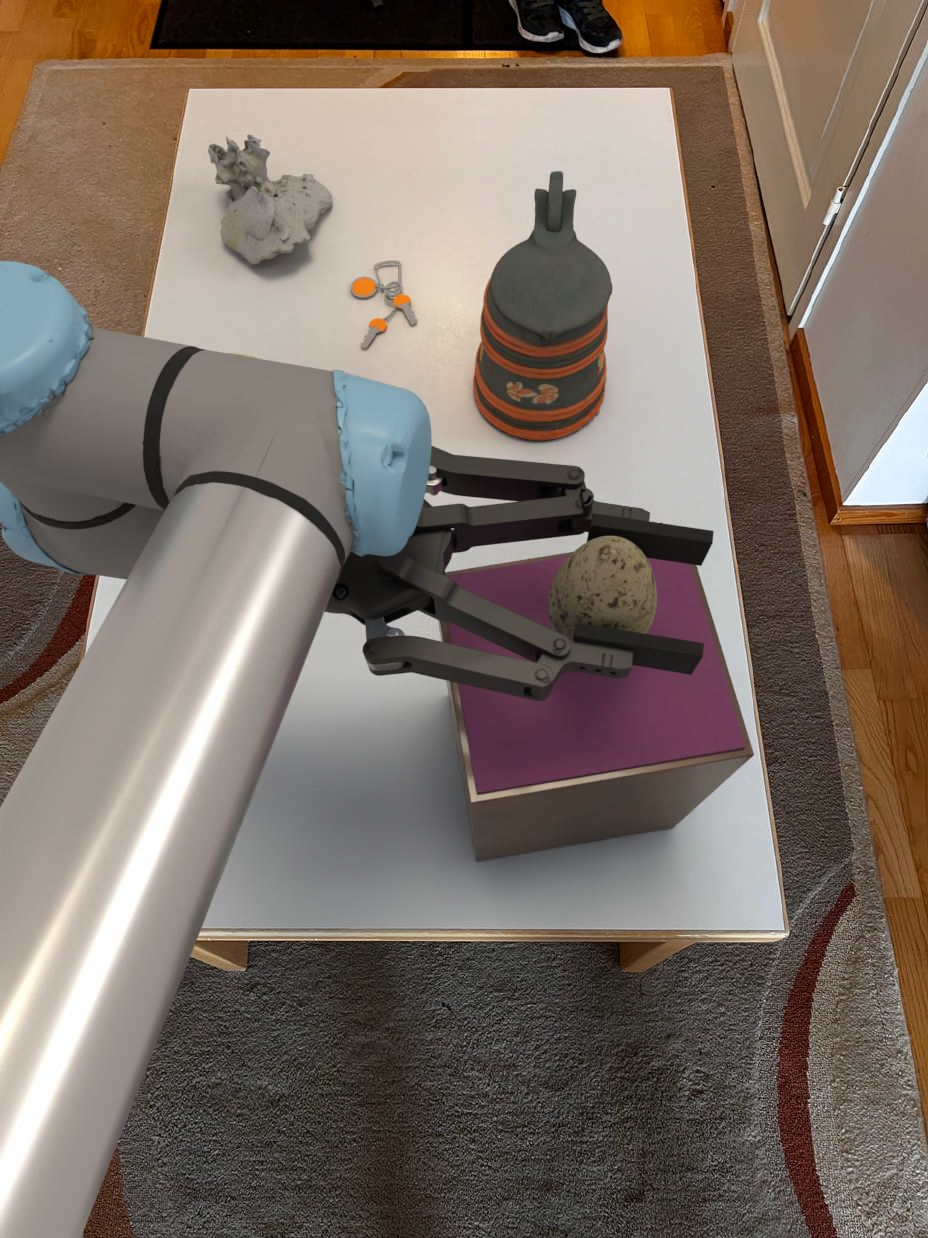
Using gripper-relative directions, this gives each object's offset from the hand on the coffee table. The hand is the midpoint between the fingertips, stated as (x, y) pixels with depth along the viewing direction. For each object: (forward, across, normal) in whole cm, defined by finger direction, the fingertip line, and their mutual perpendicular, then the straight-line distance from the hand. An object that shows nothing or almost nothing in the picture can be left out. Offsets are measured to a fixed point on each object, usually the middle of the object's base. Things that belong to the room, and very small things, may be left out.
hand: (701, 602), depth 46 cm
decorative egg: (-5, 0, -6) cm, 8 cm away
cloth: (-5, 0, -11) cm, 12 cm away
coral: (-49, -60, -37) cm, 87 cm away
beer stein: (-14, -44, -37) cm, 59 cm away
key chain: (-33, -50, -37) cm, 71 cm away
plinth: (-5, 0, -37) cm, 37 cm away
